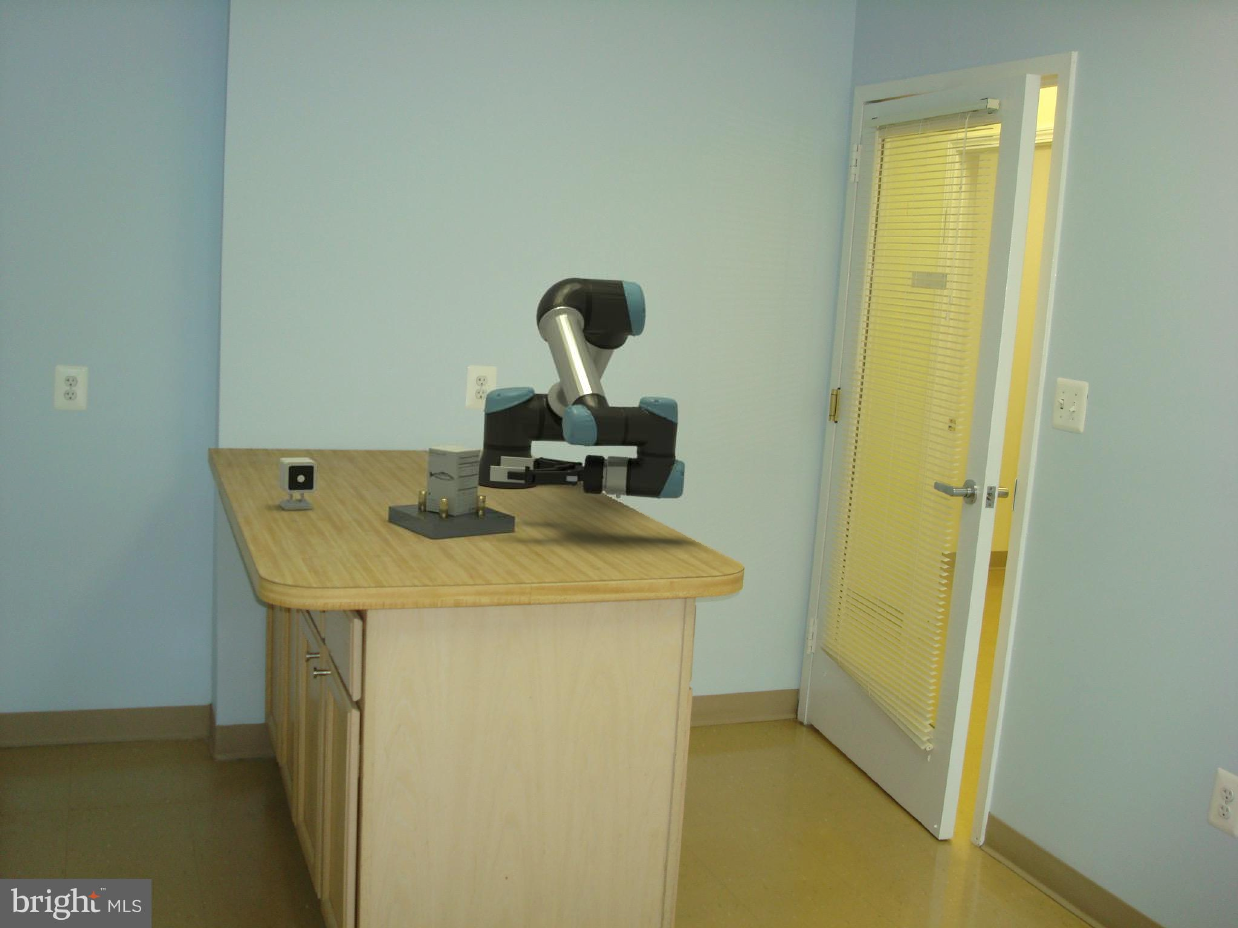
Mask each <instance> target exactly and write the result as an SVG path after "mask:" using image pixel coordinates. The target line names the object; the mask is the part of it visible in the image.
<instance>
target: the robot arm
mask: <svg viewBox="0 0 1238 928" xmlns="http://www.w3.org/2000/svg"><path fill="white" fill-rule="evenodd" d="M646 307H647V306H646V300H645V294H644V292H643V289H642V287H641V286H640V284H639V283H637V282H634V281H629V280H627V281H626V280H624V279H622V280H619V279H601V278H600V279H598V278H581V277H569V278H564V279H562V280H560V281H557V282H556V283H554V284H553V285H551V286H550V287H549V288H548V289H547V290H546V292H544V294H543V295H542V297H541V299H540V300H539V304H538V305H537V310H536V314H535V315H536V316H535V318H536V326H537V329H538V332H539V335H540V338H542V340H544V341H545V342H546V343H547V344H548V348H549V351H550V354H551V357H552V359H553V363H554V365H555V368H556V372H557V375H558V378H559V381H558V382H555V383H554V384H553V385H551V387H550V388H549V390H548V391H547V393H536V391H535V390H534V388H533V387H530V386H511V387H504V388H502V387H501V388H498V389H493V390H491V391H489V392H488V393H487V395H486V396H485V403H484V409H483V413H484V418H483V421H484V423H483V442H482V443H483V446H482V452H481V454H480V455H481V456H480V458H479V478H478V486H479V485H480V486H484V487H489V488H499V489H524V488H532V487H535V486H558V485H559V486H562V485H565V486H566V485H567V486H578V483H581V482H582V484H583V486H582V490H583V493H584V494H590V495H601V494H603V492H604V493H605V495H612V496H614V495H615V498H616V499H620V498H621V496H626V497H638V498H651V499H658V500H660V499H679V498H681V497H682V496H683V494H684V486H685V469H686V465H685V464H686V463H685V462H684V461H683V460H680V459H676V458H677V456H676V446H677V434H678V425H679V407H678V406H679V405H678V402H677V401H676V400H675V399H673V398H670V397H662V396H643V397H641V398H640V399H639V403H638V405H637V406H613V405H612V406H610V405H609V402H608V399H607V396H606V394H605V391H604V388H603V385H602V383H601V380H602V378H603V375H604V372H606V369H607V367H608V365H609V362H610V360H611V358H612V356H613V354H614V351H615V350H618V349H620V348H621V347H623V346H624V344H625V343H626V341H627V340H628V338H629V336H632V337H636V336H641V335H642V334H643V332H644V330H645V325H646V316H647V315H646V312H647V311H646V309H647V308H646ZM533 442H554V443H555V442H557V443H559V442H561V443H567V444H569V445H573V446H583V447H636V457H629V456H618V455H617V456H614V455H609V456H607V458H605V456H604V455H598V454H597V455H595V454H586V456H585V457H584V463H583V462H581V461H578V462H577V461H568V460H561V459H554V458H550V457H549V458H547V457H543V456H542V457H541V456H540V457H536V458H533V456H532V444H533ZM583 464H584V465H583Z"/></svg>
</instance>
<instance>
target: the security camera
mask: <svg viewBox="0 0 1238 928" xmlns="http://www.w3.org/2000/svg"><path fill="white" fill-rule="evenodd" d="M317 477H318V464H317V462H316V461H314V460H312V459H311V458H310V457H281V458H280V459H279V461H278V487H279V488H280V489H282V491H284V492H285V493H286V494H288V498H280V499H279V506H280V507H281V508H282V509H284V510H285V511H293V510H295V511H296V510H297V511H298V510H312V509H313V502H311V500H309V499H308V498H306V497H305V494H311V493H312V494H313V493H316V491H317V487H318V486H317V484H318V483H317V482H318V478H317ZM293 494H299V496H300V497H299V498H294V496H293Z"/></svg>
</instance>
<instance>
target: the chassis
mask: <svg viewBox="0 0 1238 928" xmlns="http://www.w3.org/2000/svg"><path fill="white" fill-rule="evenodd" d="M486 496H487V495H483V494H481V495H479V494H478V496H477V497H476V512H473V513H468V514H463V515H457V516H452V515H448V510H449V498H439V512H434V511H427V510H426V502H427V490H418V499H417V500H418V503H417V504H415V503H413V504H403V505H389V506H388V511H387V512H388V514H387V516H388V518H387V519H388V520H387V521H388V522H389V523H391V524H394V525H396V526H399V527H401V528H404V529H407V530H409V531H412V532H414V533H416V534H418V535H422V536H423V537H426V538H428V539H431V540H439V539H440V540H441V539H449V538H459V537H460V538H463V537H471V536H472V537H474V536H483V535H494V534H504V533H515V529H516V528H515V526H516V516H514V515H512V514H510V513H509V514H508V513H506V512H502V511H500V510H496V509H494V508H491V507H487V506H486V501H487V497H486Z"/></svg>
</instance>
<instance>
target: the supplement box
mask: <svg viewBox="0 0 1238 928" xmlns="http://www.w3.org/2000/svg"><path fill="white" fill-rule="evenodd" d="M480 455H481V449H480V448H473V447H466V446H459V445H454V444H445V445H439V446H431V447H428V462H427V482H426V491H427V502H426V510H427V511H434V512H439V498H449V510H448V515H452V516H457V515H463V514H468V513H473V512H476V497H477V496H478V495H479V494H478V493H479V484H478V478H479V461H480V458H481V456H480Z"/></svg>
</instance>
